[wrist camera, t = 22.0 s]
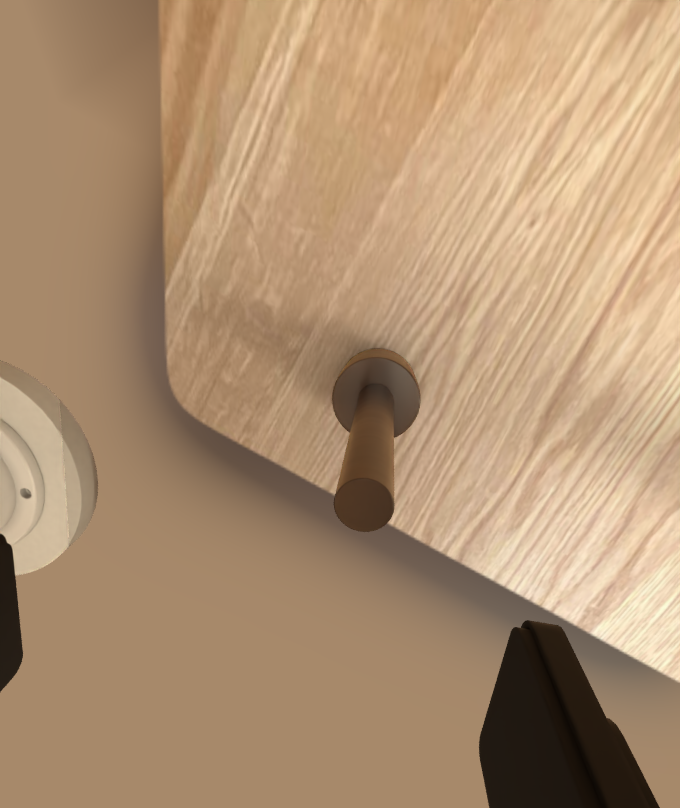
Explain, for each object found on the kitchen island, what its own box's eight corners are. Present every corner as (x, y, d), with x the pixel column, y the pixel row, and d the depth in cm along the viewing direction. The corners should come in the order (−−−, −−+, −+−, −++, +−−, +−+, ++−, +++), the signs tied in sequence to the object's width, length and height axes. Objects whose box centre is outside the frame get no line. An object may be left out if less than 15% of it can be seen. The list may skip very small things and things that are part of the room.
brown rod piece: (333, 416, 31) (282, 556, 16) (343, 341, 29) (296, 423, 15) (410, 428, 30) (426, 581, 16) (424, 352, 29) (455, 448, 15)
